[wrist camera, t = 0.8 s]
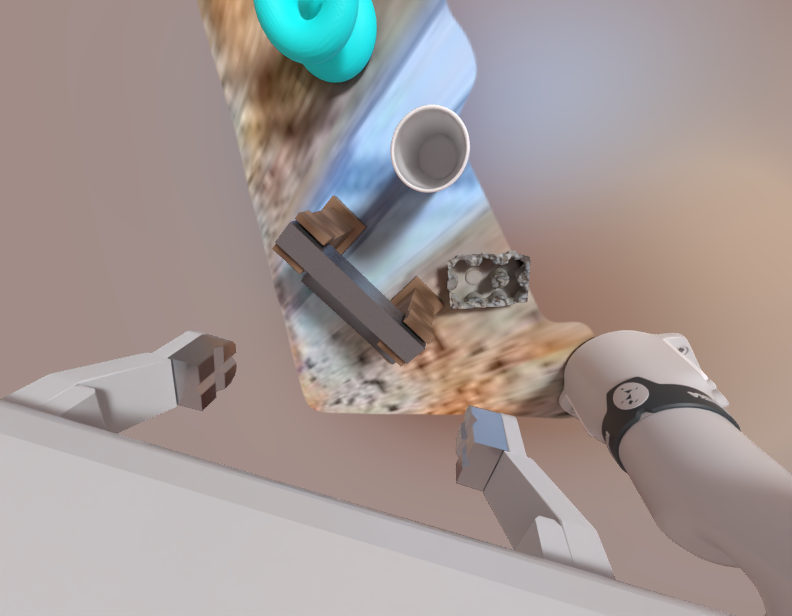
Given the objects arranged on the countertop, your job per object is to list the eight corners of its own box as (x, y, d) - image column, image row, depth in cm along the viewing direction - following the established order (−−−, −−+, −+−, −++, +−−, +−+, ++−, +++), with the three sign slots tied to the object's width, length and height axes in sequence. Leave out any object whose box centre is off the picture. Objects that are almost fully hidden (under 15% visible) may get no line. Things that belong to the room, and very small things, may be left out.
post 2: (444, 303, 47) (441, 344, 36) (416, 327, 50) (404, 373, 39) (416, 275, 46) (403, 308, 35) (389, 301, 49) (368, 340, 38)
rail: (427, 336, 39) (424, 349, 36) (410, 350, 40) (406, 363, 37) (302, 218, 36) (290, 222, 33) (288, 237, 37) (275, 242, 34)
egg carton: (447, 299, 47) (446, 310, 44) (447, 249, 44) (446, 257, 41) (523, 300, 45) (528, 311, 42) (528, 248, 42) (535, 255, 39)
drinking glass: (422, 194, 42) (405, 205, 28) (404, 141, 40) (377, 125, 26) (472, 174, 40) (481, 175, 26) (456, 117, 38) (456, 86, 24)
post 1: (366, 226, 45) (336, 244, 34) (341, 255, 47) (304, 281, 36) (335, 195, 44) (293, 203, 33) (310, 226, 46) (263, 244, 35)
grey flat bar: (423, 338, 50) (422, 339, 50) (393, 362, 53) (392, 364, 52) (328, 248, 47) (327, 249, 47) (302, 279, 50) (301, 280, 49)
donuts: (223, -28, 28) (306, -130, 25) (280, 20, 37) (346, -49, 34) (291, 83, 31) (375, 5, 27) (329, 103, 40) (395, 47, 36)
